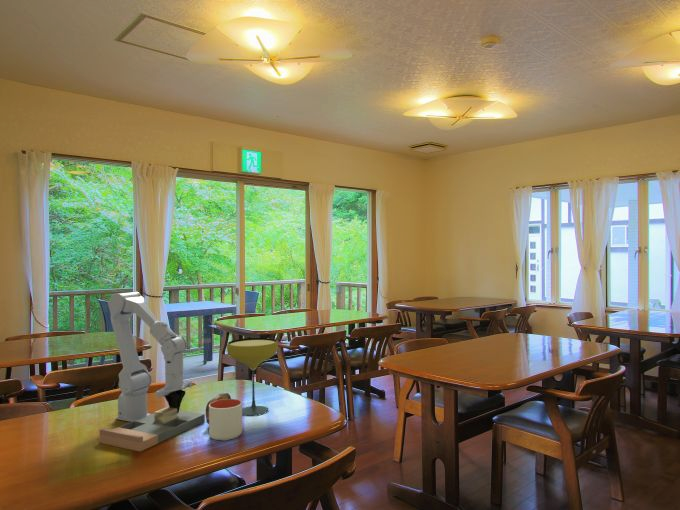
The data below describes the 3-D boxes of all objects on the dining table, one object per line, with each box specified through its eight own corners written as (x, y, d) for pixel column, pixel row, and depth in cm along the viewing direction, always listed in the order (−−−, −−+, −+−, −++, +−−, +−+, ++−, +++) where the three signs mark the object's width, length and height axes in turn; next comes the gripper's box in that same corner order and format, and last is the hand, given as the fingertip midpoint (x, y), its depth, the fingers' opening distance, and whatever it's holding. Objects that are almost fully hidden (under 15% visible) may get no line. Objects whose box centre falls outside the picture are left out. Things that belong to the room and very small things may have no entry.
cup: (248, 431, 149) (247, 400, 149) (231, 443, 140) (230, 409, 140) (221, 428, 152) (220, 397, 153) (202, 439, 143) (202, 407, 143)
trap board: (99, 442, 142) (99, 429, 142) (167, 415, 167) (167, 403, 167) (140, 451, 135) (140, 437, 135) (204, 421, 159) (204, 409, 159)
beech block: (154, 421, 153) (154, 411, 153) (167, 415, 158) (167, 406, 158) (164, 422, 151) (164, 413, 151) (177, 417, 156) (177, 408, 156)
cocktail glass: (281, 416, 163) (280, 344, 163) (228, 421, 159) (227, 347, 159) (275, 401, 180) (274, 336, 181) (227, 405, 176) (226, 339, 176)
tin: (212, 429, 152) (212, 403, 152) (204, 428, 153) (203, 402, 153) (232, 414, 167) (232, 390, 167) (224, 413, 168) (224, 389, 168)
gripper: (167, 379, 150) (167, 421, 150) (198, 369, 163) (199, 408, 163) (150, 377, 153) (151, 418, 153) (183, 367, 166) (183, 406, 166)
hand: (174, 413), depth 158 cm, fingers closed
